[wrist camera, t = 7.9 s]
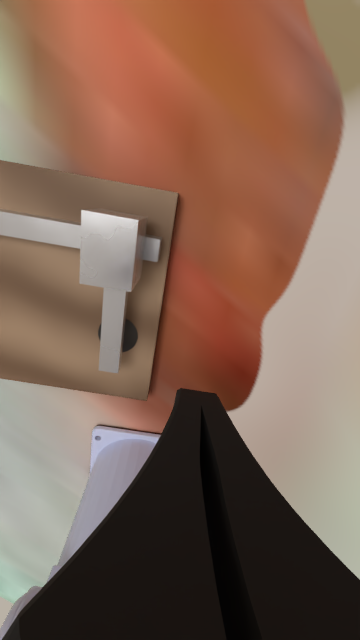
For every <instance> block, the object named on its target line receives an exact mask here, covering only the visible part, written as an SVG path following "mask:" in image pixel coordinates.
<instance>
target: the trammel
mask: <svg viewBox="0 0 360 640" xmlns="http://www.w3.org/2000/svg"><path fill="white" fill-rule="evenodd" d="M147 218H148V217H144V216H139V215H133V214H128V213H122V212H117V211H111V210H105V209H87V210H81V223H80V222H74V221H68V220H63V219H57V218H52V217H46V216H40V215H35V214H29V213H23V212H18V211H12V210H6V209H1V208H0V235H4V236H10V237H15V238H21V239H27V240H33V241H38V242H44V243H50V244H56V245H61V246H67V247H73V248H79V249H80V280H79V284H85V285H91V286H97V287H103V288H104V292H103V308H102V324H101V340H100V356H99V371H105V372H112V373H119V370H120V368H121V359H122V349H123V339H124V329H125V318H126V308H127V298H128V292H132V290H133V289H134V287H135V285H136V284H137V282H138V281H139V279H140V278H141V271H142V262H143V260H148V261H153V262H158V260H159V258H160V251H161V244H162V237H159V236H153V235H147V234H146V227H147Z"/></svg>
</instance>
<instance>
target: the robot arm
mask: <svg viewBox="0 0 360 640" xmlns="http://www.w3.org/2000/svg"><path fill="white" fill-rule="evenodd" d="M98 436H100V437H98ZM0 640H360V580H359V579H358V578H357V577H356V576H355V575H354V574H353V573H352V572H351V571H350V570H349V569H348V568H347V567H346V566H345V565H344V564H343V563H342V562H341V561H340V560H339V559H338V557H337V556H335V554H333V552H332V551H331V550H330V549H329V548H328V547H327V546H326V545H325V544H324V543H323V542H322V540H321V539H320V538H319V537H318V536H317V535H316V534H315V533H314V532H313V531H312V530H311V529H310V528H309V526H308V525H307V524H306V523H305V522H304V521H303V520H302V519H301V517H300V516H299V515H298V514H297V513H296V512H295V511H294V509H293V508H292V507H291V506H290V505H289V503H288V502H287V501H286V500H285V498H284V497H283V496H282V495H281V493H280V492H279V491H278V490H277V488H276V487H275V486H274V484H273V483H272V482H271V481H270V479H269V478H268V477H267V475H266V474H265V472H264V471H263V469H262V468H261V467H260V465H259V464H258V462H257V461H256V459H255V458H254V457H253V455H252V454H251V452H250V451H249V449H248V448H247V446H246V444H245V443H244V441H243V439H242V438H241V436H240V435H239V433H238V431H237V430H236V428H235V426H234V425H233V423H232V421H231V419H230V418H229V416H228V414H227V412H226V411H225V409H224V407H223V405H222V403H221V401H220V399H219V397H218V396H217V394H215V393H208V392H202V391H195V390H189V389H183V388H180V389H179V390H177V393H176V398H175V403H174V407H173V410H172V412H171V415H170V417H169V419H168V421H167V424H166V426H165V428H164V430H163V432H162V434H161V435H158V434H151V433H145V432H138V431H131V430H125V429H118V428H111V427H105V426H95V427H94V429H93V431H92V445H91V462H90V477H89V479H88V482H87V485H86V488H85V490H84V493H83V496H82V499H81V501H80V504H79V507H78V510H77V512H76V515H75V518H74V521H73V523H72V526H71V529H70V532H69V534H68V537H67V540H66V543H65V545H64V548H63V551H62V554H61V556H60V559H59V562H58V565H55V566H53V567H52V570H51V573H50V575H49V578H48V581H47V583H46V584H45V585H44V586H43V587H38V586H33V587H31V588H30V589H29V590H28V592H27V593H25V594H24V595H23V596H21V597H20V598H19V599H18V600H17V601H16V602H15V603H14V605H13V606H12V608H11V610H10V612H9V613H8V615H7V617H6V619H5V621H4V623H3V625H2V627H1V629H0Z"/></svg>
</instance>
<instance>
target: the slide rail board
mask: <svg viewBox="0 0 360 640" xmlns="http://www.w3.org/2000/svg"><path fill="white" fill-rule="evenodd" d="M178 195H179V193H176V192H170V191H165V190H160V189H154V188H149V187H143V186H138V185H132V184H127V183H121V182H116V181H111V180H105V179H100V178H94V177H89V176H83V175H78V174H73V173H67V172H62V171H56V170H51V169H45V168H40V167H34V166H29V165H24V164H18V163H13V162H7V161H2V160H0V208H1V209H6V210H12V211H18V212H23V213H29V214H35V215H40V216H46V217H52V218H57V219H63V220H68V221H74V222H80V223H81V210H87V209H105V210H111V211H117V212H122V213H128V214H133V215H139V216H144V217H148V218H147V227H146V234H147V235H153V236H159V237H162V244H161V251H160V258H159V260H158V262H153V261H148V260H143V262H142V271H141V278H140V279H139V281H138V282H137V284H136V285H135V287H134V289H133V290H132V292H128V298H127V308H126V318H125V329H124V339H123V349H122V359H121V368H120V370H119V373H112V372H105V371H99V356H100V340H101V324H102V308H103V292H104V288H103V287H97V286H91V285H85V284H79V280H80V249H79V248H73V247H67V246H61V245H56V244H50V243H44V242H38V241H33V240H27V239H21V238H15V237H10V236H4V235H0V378H2V379H8V380H15V381H21V382H27V383H34V384H40V385H47V386H53V387H60V388H66V389H73V390H79V391H86V392H92V393H99V394H105V395H112V396H118V397H125V398H131V399H137V400H144V401H147V397H148V393H149V387H150V380H151V374H152V367H153V360H154V354H155V347H156V340H157V334H158V327H159V321H160V314H161V307H162V301H163V294H164V288H165V281H166V274H167V268H168V261H169V255H170V248H171V241H172V235H173V228H174V221H175V215H176V208H177V202H178Z"/></svg>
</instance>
